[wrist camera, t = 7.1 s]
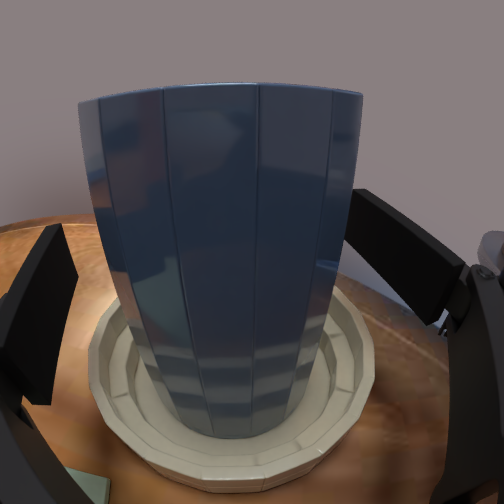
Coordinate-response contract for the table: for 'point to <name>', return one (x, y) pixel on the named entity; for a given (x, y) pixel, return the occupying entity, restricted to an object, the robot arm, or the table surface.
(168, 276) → the tumbler
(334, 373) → the bowl
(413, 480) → the table surface
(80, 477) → the mat
